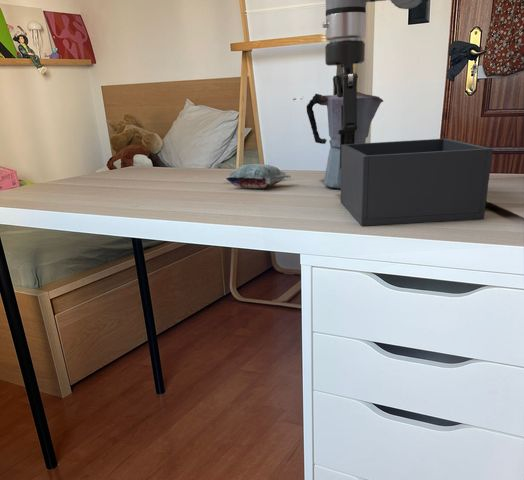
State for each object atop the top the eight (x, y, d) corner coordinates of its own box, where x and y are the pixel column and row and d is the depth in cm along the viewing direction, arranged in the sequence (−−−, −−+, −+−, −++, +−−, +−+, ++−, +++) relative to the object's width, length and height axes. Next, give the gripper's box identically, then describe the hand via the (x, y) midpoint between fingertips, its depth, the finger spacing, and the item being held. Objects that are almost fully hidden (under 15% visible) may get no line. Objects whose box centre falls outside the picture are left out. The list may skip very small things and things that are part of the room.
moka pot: (380, 189, 107) (384, 79, 98) (304, 191, 110) (302, 84, 101) (379, 182, 116) (383, 79, 107) (309, 184, 118) (308, 84, 110)
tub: (440, 196, 97) (446, 138, 93) (483, 218, 80) (493, 148, 75) (340, 202, 97) (341, 144, 93) (361, 226, 80) (363, 156, 75)
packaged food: (249, 182, 124) (248, 160, 122) (291, 185, 118) (290, 162, 115) (225, 189, 118) (223, 166, 116) (268, 192, 112) (266, 168, 109)
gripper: (318, 46, 110) (319, 161, 120) (333, 37, 92) (332, 173, 102) (354, 44, 110) (352, 159, 120) (376, 34, 92) (371, 171, 102)
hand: (343, 165), depth 111 cm, fingers closed on moka pot, 8 cm apart
